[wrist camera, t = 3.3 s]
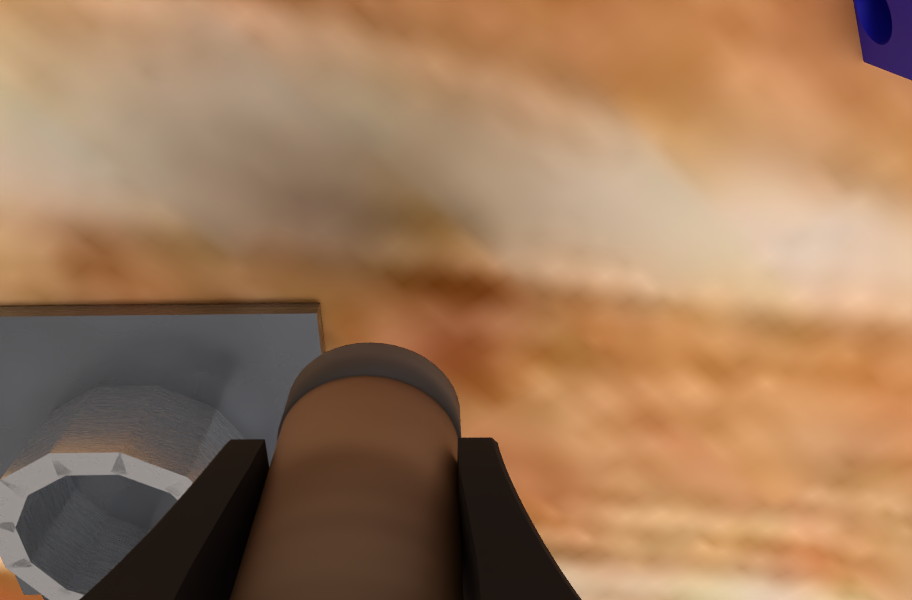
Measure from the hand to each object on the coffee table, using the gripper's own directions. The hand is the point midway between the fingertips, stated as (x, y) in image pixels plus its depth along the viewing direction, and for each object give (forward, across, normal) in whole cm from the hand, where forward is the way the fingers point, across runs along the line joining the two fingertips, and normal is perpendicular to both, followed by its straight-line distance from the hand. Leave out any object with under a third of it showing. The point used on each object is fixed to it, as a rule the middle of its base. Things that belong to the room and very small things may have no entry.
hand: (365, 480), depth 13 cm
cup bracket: (+9, +8, +7) cm, 14 cm away
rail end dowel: (+2, 0, 0) cm, 2 cm away
